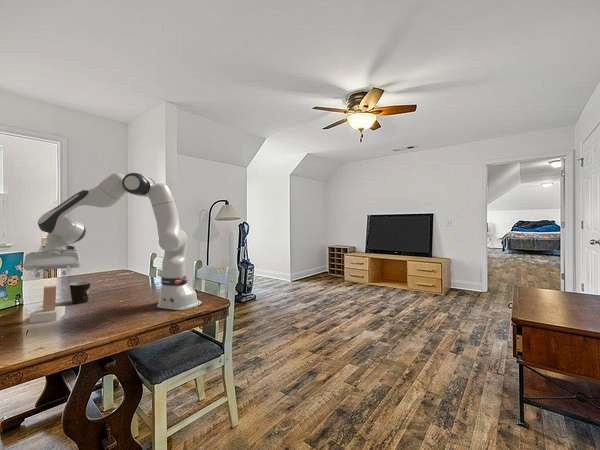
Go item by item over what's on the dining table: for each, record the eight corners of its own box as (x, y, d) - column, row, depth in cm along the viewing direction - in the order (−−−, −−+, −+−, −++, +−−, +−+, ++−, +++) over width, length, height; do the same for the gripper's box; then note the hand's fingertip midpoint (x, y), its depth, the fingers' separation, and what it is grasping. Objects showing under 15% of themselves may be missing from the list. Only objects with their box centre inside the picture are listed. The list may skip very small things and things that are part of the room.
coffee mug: (78, 305, 140) (78, 285, 139) (64, 303, 141) (65, 284, 141) (99, 298, 151) (99, 280, 151) (86, 297, 153) (86, 279, 153)
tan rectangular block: (54, 307, 125) (56, 285, 125) (55, 309, 122) (56, 286, 122) (42, 309, 122) (43, 286, 123) (42, 311, 119) (43, 288, 120)
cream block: (65, 314, 128) (65, 305, 128) (56, 321, 120) (56, 312, 120) (40, 316, 125) (40, 307, 125) (29, 323, 116) (29, 314, 116)
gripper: (24, 248, 127) (17, 273, 119) (81, 246, 138) (78, 269, 129) (27, 256, 131) (21, 281, 123) (82, 254, 141) (79, 277, 133)
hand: (51, 275), depth 126 cm, fingers open, 8 cm apart
